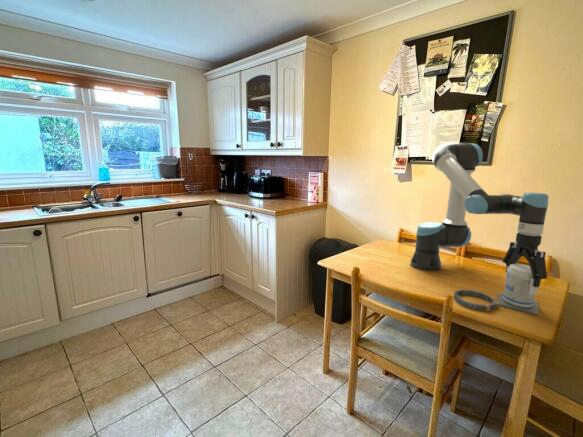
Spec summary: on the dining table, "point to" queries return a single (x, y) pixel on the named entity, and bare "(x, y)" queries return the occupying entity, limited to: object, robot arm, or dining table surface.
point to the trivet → (503, 303)
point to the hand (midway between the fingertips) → (519, 287)
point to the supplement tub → (518, 286)
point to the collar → (473, 305)
